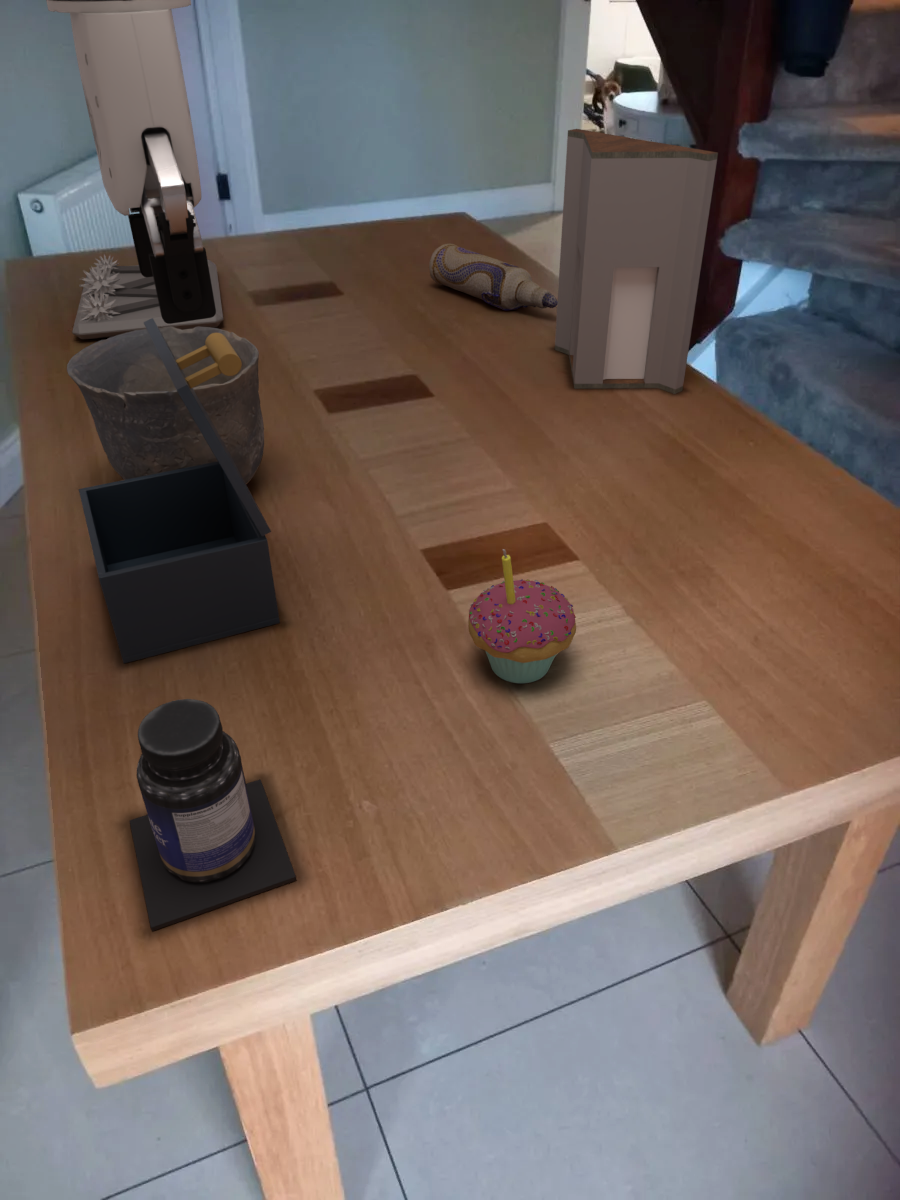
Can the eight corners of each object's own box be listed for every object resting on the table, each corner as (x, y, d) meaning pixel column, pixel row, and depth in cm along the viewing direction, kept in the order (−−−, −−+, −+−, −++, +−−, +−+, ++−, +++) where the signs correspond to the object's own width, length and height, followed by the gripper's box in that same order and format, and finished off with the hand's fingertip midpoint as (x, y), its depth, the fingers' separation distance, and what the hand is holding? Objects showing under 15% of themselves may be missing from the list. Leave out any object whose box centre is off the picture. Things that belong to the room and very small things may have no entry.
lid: (176, 390, 65) (243, 356, 65) (143, 322, 76) (200, 294, 77) (262, 537, 74) (319, 506, 75) (221, 456, 85) (271, 431, 86)
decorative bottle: (425, 288, 152) (425, 246, 148) (460, 279, 156) (460, 238, 152) (535, 330, 136) (537, 284, 132) (570, 318, 140) (574, 274, 136)
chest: (123, 663, 75) (98, 578, 70) (101, 568, 87) (78, 488, 82) (280, 623, 80) (267, 539, 74) (239, 537, 91) (226, 459, 86)
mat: (152, 931, 55) (150, 927, 55) (130, 824, 62) (129, 820, 62) (296, 880, 58) (296, 876, 58) (261, 782, 65) (260, 778, 65)
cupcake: (515, 714, 70) (521, 586, 63) (445, 659, 75) (443, 536, 68) (594, 667, 74) (607, 543, 67) (522, 618, 80) (528, 498, 73)
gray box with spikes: (225, 330, 137) (217, 282, 133) (74, 344, 133) (61, 295, 129) (217, 271, 161) (210, 229, 156) (89, 282, 157) (78, 238, 152)
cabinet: (682, 390, 118) (718, 152, 102) (634, 412, 113) (663, 165, 96) (562, 346, 131) (576, 128, 114) (514, 364, 126) (521, 139, 109)
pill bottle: (156, 825, 61) (119, 703, 55) (247, 800, 63) (222, 679, 56) (167, 899, 57) (129, 775, 50) (265, 869, 58) (240, 746, 52)
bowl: (122, 552, 89) (83, 408, 80) (91, 474, 102) (54, 342, 93) (297, 507, 95) (279, 369, 86) (247, 439, 108) (227, 313, 99)
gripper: (33, -28, 55) (103, 266, 65) (51, -13, 42) (134, 350, 52) (161, -33, 57) (209, 252, 67) (216, -20, 44) (265, 330, 54)
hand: (176, 295), depth 59 cm, fingers open, 9 cm apart
